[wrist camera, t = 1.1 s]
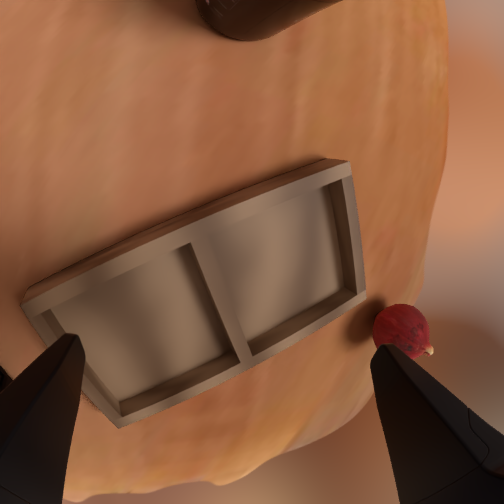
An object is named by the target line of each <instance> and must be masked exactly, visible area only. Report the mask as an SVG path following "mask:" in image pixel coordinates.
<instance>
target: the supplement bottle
mask: <svg viewBox="0 0 504 504" xmlns="http://www.w3.org/2000/svg"><path fill="white" fill-rule="evenodd" d="M340 1H342V0H196V3H197V7H198V9H199V11H200V13H201V15H202V16H203V18H204V19H205V20H206V21H207V23H209V24H210V25H211V26H212V27H213V28H214V29H216V30H217V31H219V32H221V33H222V34H224V35H227V36H229V37H232V38H235V39H239V40H247V41H255V40H262V39H266V38H269V37H271V36H274V35H275V34H277V33H279V32H281V31H283V30H285V29H286V28H288V27H290V26H292V25H294V24H296V23H297V22H299V21H301V20H303V19H305V18H307V17H309V16H311V15H313V14H315V13H317V12H319V11H321V10H323V9H325V8H327V7H329V6H331V5H333V4H335V3H338V2H340Z"/></svg>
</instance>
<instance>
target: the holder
mask: <svg viewBox="0 0 504 504" xmlns="http://www.w3.org/2000/svg"><path fill="white" fill-rule="evenodd" d="M365 299H366V285H365V273H364V262H363V252H362V243H361V234H360V226H359V218H358V211H357V204H356V197H355V190H354V184H353V178H352V172H351V166H350V161H345V160H337V159H328V158H327V159H324V160H321V161H319V162H316V163H313V164H310V165H307V166H304V167H302V168H299V169H296V170H293V171H290V172H288V173H285V174H282V175H280V176H277V177H274V178H271V179H269V180H266V181H264V182H261V183H258V184H256V185H253V186H250V187H248V188H245V189H243V190H240V191H238V192H235V193H233V194H230V195H228V196H225V197H223V198H220V199H218V200H215V201H213V202H210V203H208V204H205V205H203V206H201V207H198V208H196V209H193V210H191V211H189V212H186V213H184V214H182V215H179V216H177V217H175V218H172V219H170V220H168V221H165V222H163V223H161V224H159V225H156V226H154V227H152V228H149V229H147V230H145V231H143V232H141V233H138V234H136V235H134V236H132V237H130V238H127V239H125V240H123V241H121V242H119V243H117V244H115V245H112V246H110V247H108V248H106V249H104V250H102V251H100V252H98V253H96V254H94V255H92V256H90V257H87V258H85V259H83V260H81V261H79V262H77V263H75V264H73V265H71V266H69V267H67V268H65V269H63V270H61V271H59V272H58V273H56V274H54V275H52V276H50V277H48V278H46V279H44V280H42V281H40V282H38V283H36V284H35V285H33V286H31V287H29V288H28V290H27V292H26V294H25V296H24V298H23V300H22V302H21V304H20V307H21V308H22V310H23V311H24V313H25V315H26V316H27V318H28V319H29V321H30V322H31V324H32V325H33V327H34V328H35V330H36V331H37V333H38V334H39V336H40V337H41V338H42V340H43V341H44V343H45V344H46V345H47V347H48V348H49V347H50V346H51V345H52V344H53V343H54V342H55V341H56V340H57V339H58V338H60V337H61V336H62V335H63V334H65V333H73V334H77V335H78V336H79V337H80V340H81V343H82V345H83V348H84V351H85V355H86V360H85V366H84V373H83V380H82V387H81V390H82V391H83V392H84V393H85V394H86V395H87V397H88V398H89V399H90V400H91V401H92V402H93V403H94V404H95V405H96V406H97V407H98V409H99V410H100V411H101V412H102V413H103V414H104V415H105V416H106V417H107V418H108V419H109V420H110V421H111V422H112V423H113V424H114V425H115V426H116V427H117V428H118V429H119V428H121V427H124V426H127V425H129V424H132V423H134V422H137V421H139V420H141V419H144V418H146V417H149V416H151V415H153V414H156V413H158V412H160V411H163V410H165V409H167V408H170V407H172V406H174V405H176V404H179V403H181V402H183V401H185V400H187V399H190V398H192V397H194V396H196V395H198V394H200V393H202V392H204V391H206V390H208V389H211V388H213V387H215V386H217V385H219V384H221V383H223V382H225V381H227V380H229V379H231V378H233V377H235V376H236V375H238V374H240V373H242V372H244V371H246V370H248V369H250V368H252V367H254V366H255V365H257V364H259V363H261V362H263V361H265V360H267V359H268V358H270V357H272V356H274V355H276V354H277V353H279V352H281V351H283V350H284V349H286V348H288V347H290V346H291V345H293V344H295V343H297V342H298V341H300V340H302V339H303V338H305V337H307V336H308V335H310V334H312V333H313V332H315V331H317V330H318V329H320V328H322V327H323V326H325V325H326V324H328V323H330V322H331V321H333V320H334V319H336V318H338V317H339V316H341V315H342V314H344V313H345V312H347V311H349V310H350V309H352V308H353V307H355V306H356V305H358V304H359V303H361V302H362V301H364V300H365Z"/></svg>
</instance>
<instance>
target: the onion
mask: <svg viewBox="0 0 504 504" xmlns="http://www.w3.org/2000/svg"><path fill="white" fill-rule="evenodd" d="M373 340H374V343H375V345H376V348H377V349H378V347H379V346H380V345H381V344H385V343H393V344H394V345H396V346H397V347H398V348H399V349H400V350H402V351H403V352H404V353H405V354H406V355H408V356H409V357H410V358H411V359H415V358H417V357H419V356H420V355H426V356H430V355H431V354H433V347H432V346H431V345H430V343H429V326H428V323H427V321H426V319H425V317H424V316H423V315H422V313H421V312H420V311H419V310H418V309H416V308H415V307H414V306H411V305H407V304H395V305H392V306H389V307H387V308H385V309H383V310H382V311H381V312H380V313H378V314H377V315H376V317H375V321H374V324H373Z"/></svg>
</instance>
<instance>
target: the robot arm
mask: <svg viewBox="0 0 504 504" xmlns="http://www.w3.org/2000/svg"><path fill="white" fill-rule="evenodd" d="M85 360H86V355H85V351H84V348H83V345H82V343H81V340H80V337H79V336H78V335H77V334H73V333H65V334H63V335H62V336H61V337H60V338H58V339H57V340H56V341H55V342H54V343H53V344H52V345H51V346H50V347H49V348H47V349H46V350H45V351H44V352H43V353H42V354H41V355H40V356H39V357H38V358H37V359H35V360H34V361H33V362H32V363H31V364H30V365H29V366H28V367H27V368H26V369H25V370H24V371H23V372H22V373H21V374H19V375H18V376H17V377H16V378H15V379H14V380H13V381H12V380H11V378H10V377H9V376H8V375H7V374H6V372H5V371H4V370H3V369H2V367H1V366H0V504H62V498H63V490H64V482H65V475H66V469H67V463H68V457H69V451H70V446H71V441H72V435H73V431H74V426H75V421H76V417H77V412H78V407H79V402H80V395H81V387H82V380H83V373H84V366H85ZM370 368H371V374H372V380H373V385H374V391H375V397H376V403H377V408H378V412H379V416H380V420H381V423H382V427H383V431H384V435H385V439H386V443H387V447H388V451H389V455H390V459H391V464H392V468H393V473H394V477H395V482H396V487H397V491H398V496H399V501H400V504H504V435H503V434H501V433H500V432H499V431H497V430H496V429H495V428H493V427H492V426H490V425H489V424H488V423H487V422H485V421H484V420H483V419H481V418H480V417H479V416H478V415H477V414H476V413H474V412H473V411H472V410H471V409H470V408H467V406H466V405H465V404H464V403H463V402H461V400H459V399H458V398H457V397H456V396H455V395H454V394H452V393H451V392H450V391H449V390H448V389H447V388H445V387H444V386H443V385H442V384H440V383H439V382H438V381H437V380H436V379H435V378H434V377H432V376H431V375H430V374H429V373H428V372H426V371H425V370H424V369H423V368H422V367H421V366H419V365H418V364H417V363H416V362H415V361H413V360H412V359H411V358H410V357H409V356H408V355H406V354H405V353H404V352H403V351H402V350H400V349H399V348H398V347H397V346H396V345H394V344H393V343H385V344H381V345H380V346H379V347H378V349H377V351H376V352H375V354H374V356H373V358H372V360H371V363H370Z"/></svg>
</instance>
